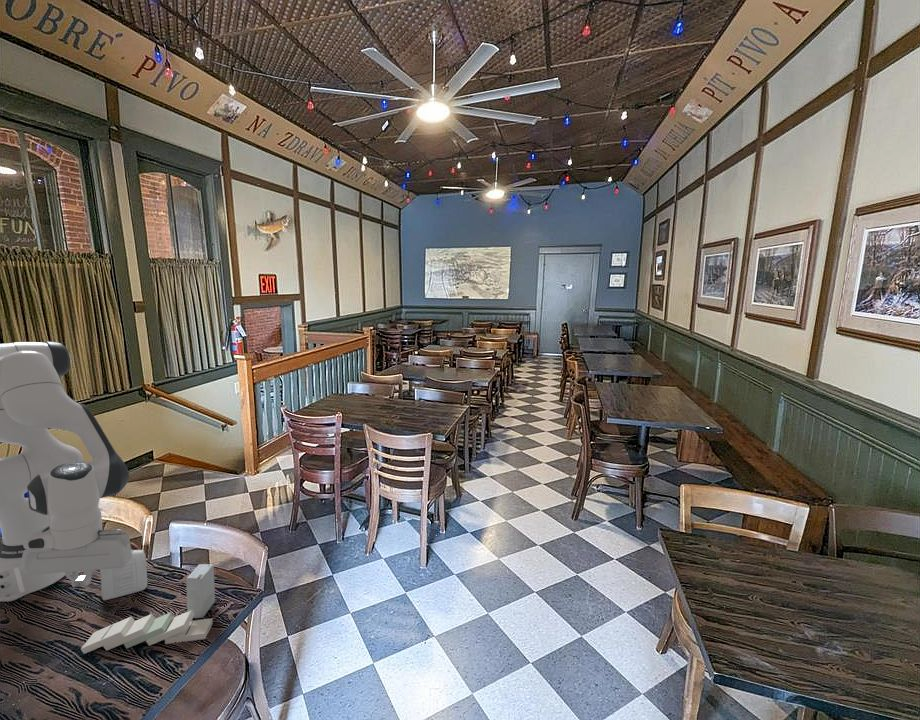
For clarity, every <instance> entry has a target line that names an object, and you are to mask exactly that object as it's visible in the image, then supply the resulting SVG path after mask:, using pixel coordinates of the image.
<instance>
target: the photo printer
mask: <svg viewBox="0 0 920 720" xmlns="http://www.w3.org/2000/svg"><path fill="white" fill-rule="evenodd" d="M131 550H132V557H131V559H130V560H129V562H128V563H127V564H126V565H125V566H124V567H122V568H114V569H101V570H99V574H100V575H99V576H100V587H101V589H100V590H101V599H102V600H103V601H107V600H111V599H115V598H119V597H123V596H127V595H131V594H135V593H137V592H141V591H144V590H146V589H147V587H148V573H147V571H148V569H147V557H146V556H147V555H146V553H145V551H144V550H143V549H131Z"/></svg>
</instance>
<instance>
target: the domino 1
mask: <svg viewBox="0 0 920 720" xmlns="http://www.w3.org/2000/svg"><path fill="white" fill-rule="evenodd" d="M135 621H136V620H135V619H134V617H133V616H128V617H127V618H124V619H123V620H120V621H117V622H115V623H113V624H110V625H107V626H106V627H104V628H101V629H98V630H96V631H94V632H93V633H92V634H91V635H90V636H89V638H88V639H87V640H86V642H85V643H84V644H83V645H82V646H81V648H80V650H81V652H82V653H83V655H86V654H87V653H90V652H92V651H95V650H97V649H98V648H101V647H102V648H103V646H104V645H106V644H109V643H111V642H113V641H116V640H118V639H120V638H123V637H124V636H125V634H126V633H127V632H128V630H129V629H130V627H131V626H132V624H133V623H134V622H135Z"/></svg>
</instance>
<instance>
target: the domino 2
mask: <svg viewBox="0 0 920 720" xmlns="http://www.w3.org/2000/svg"><path fill="white" fill-rule="evenodd" d="M155 619H156V617H155V615H154V614H153V613H150V614H148V615H146V616H144V617H141V618H139V619H136V620H134V621H135V622H134V623H133V624H132V626H131V627H130V629H129V630H128V632H127V633H126V634H125V636H124V637H123V638H120V639H118V640H116V641H113V642H111V643H109V644H106V645H104V646H102V648H104V649H105V651H109V650H111V649H112V650H113V649H114V648H116V647H119V646H122V645H124V643H126V642H128V641H130V640H133V639H135V638H137V637H140V636H142V635H144V634H146V632H147V631H148V629H149V627H150V626H151V624H152V623H153V621H154V620H155Z"/></svg>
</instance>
